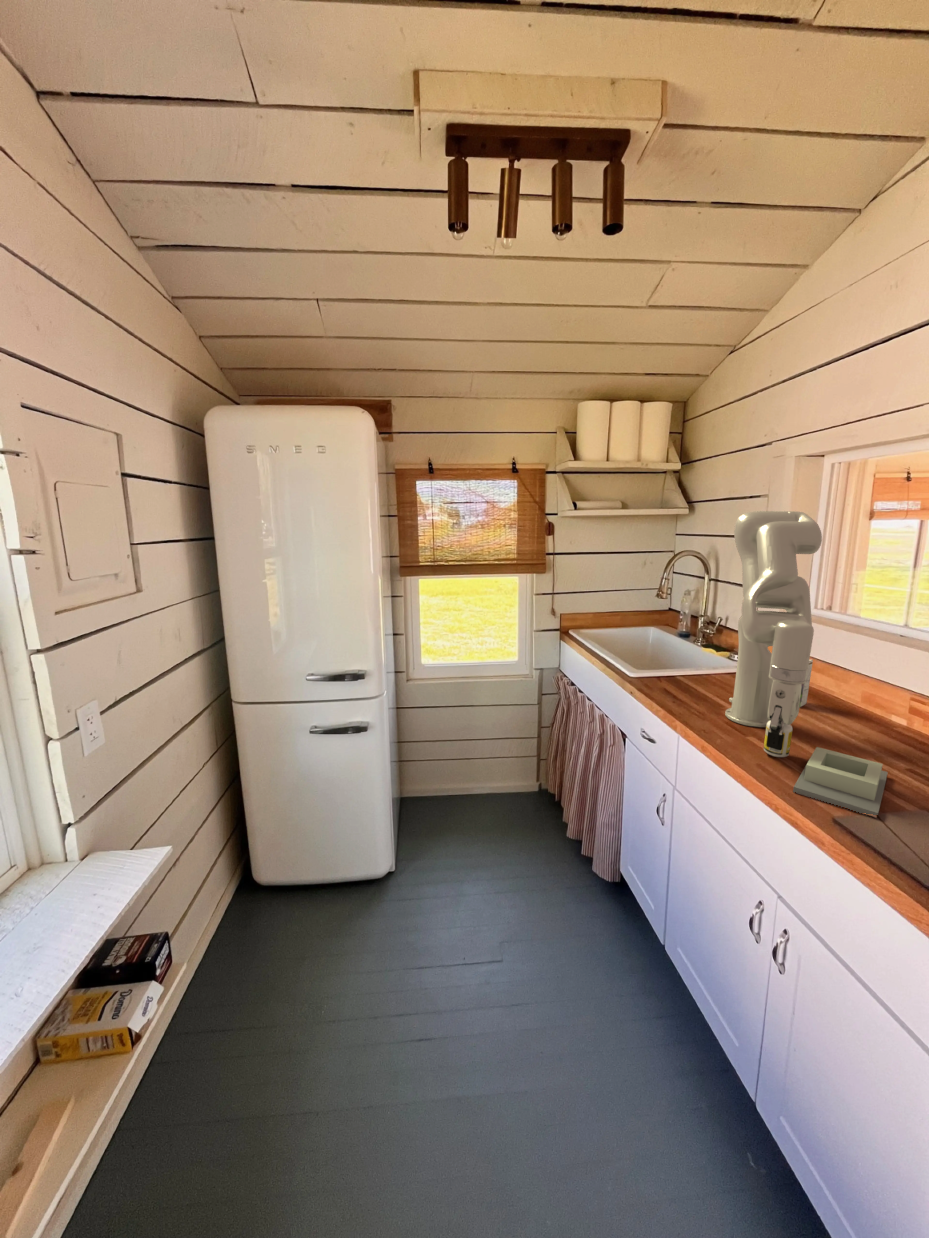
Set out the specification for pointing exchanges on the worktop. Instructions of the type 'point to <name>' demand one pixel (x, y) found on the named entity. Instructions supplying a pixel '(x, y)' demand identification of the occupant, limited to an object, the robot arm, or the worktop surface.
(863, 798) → the socket board
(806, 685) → the syrup box
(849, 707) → the worktop surface
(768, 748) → the supplement bottle
